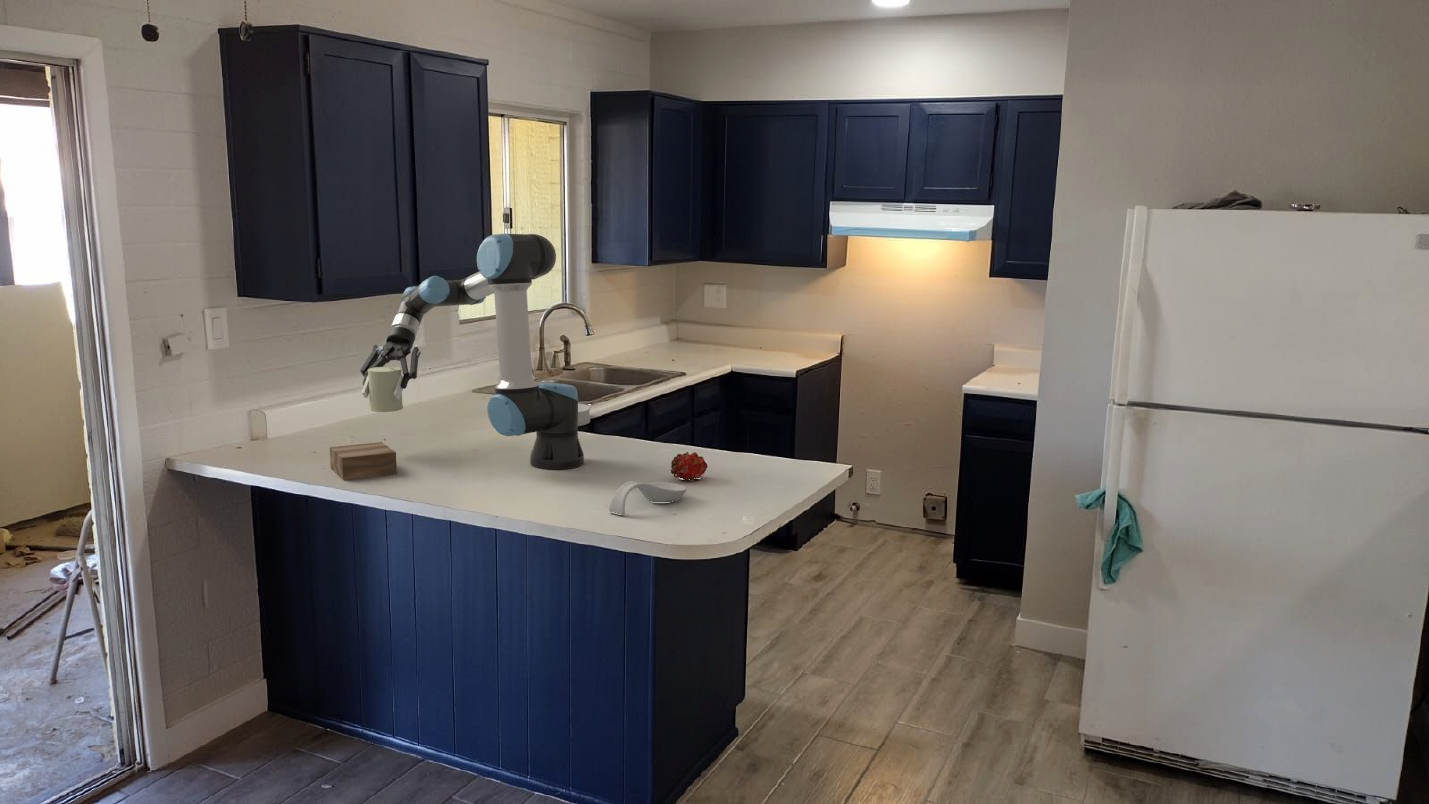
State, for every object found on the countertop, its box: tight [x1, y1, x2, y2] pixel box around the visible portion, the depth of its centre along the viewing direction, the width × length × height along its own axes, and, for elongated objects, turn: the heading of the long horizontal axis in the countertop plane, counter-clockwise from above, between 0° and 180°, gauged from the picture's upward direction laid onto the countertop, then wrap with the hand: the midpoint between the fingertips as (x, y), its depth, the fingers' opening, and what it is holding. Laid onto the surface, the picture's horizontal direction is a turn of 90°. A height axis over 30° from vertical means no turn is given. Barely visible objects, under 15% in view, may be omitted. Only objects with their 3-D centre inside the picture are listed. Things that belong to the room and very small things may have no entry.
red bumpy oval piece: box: [670, 451, 709, 481], centre depth 276 cm, size 8×8×12 cm
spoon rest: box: [608, 480, 688, 516], centre depth 251 cm, size 24×12×7 cm, turn 145°
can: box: [368, 366, 404, 413], centre depth 290 cm, size 9×9×12 cm
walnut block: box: [329, 441, 398, 481], centre depth 277 cm, size 14×14×6 cm
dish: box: [578, 402, 591, 427], centre depth 350 cm, size 22×22×5 cm
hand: (380, 396), depth 287 cm, fingers closed on can, 9 cm apart
